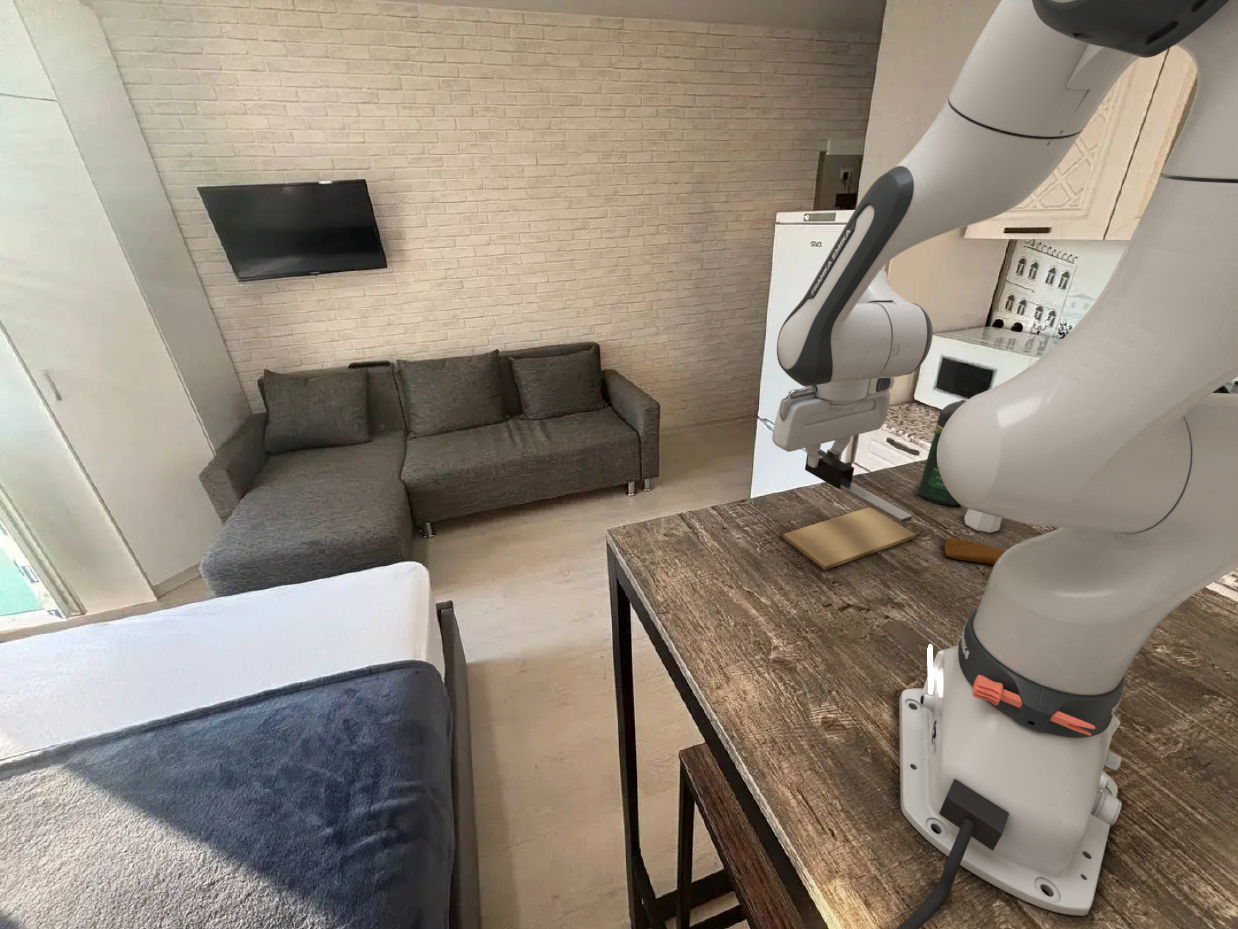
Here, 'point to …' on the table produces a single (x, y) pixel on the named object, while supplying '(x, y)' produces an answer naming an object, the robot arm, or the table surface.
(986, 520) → the pepper shaker
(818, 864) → the table surface
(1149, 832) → the table surface
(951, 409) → the coffee jar
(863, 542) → the cutting board
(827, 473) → the knife
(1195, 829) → the table surface
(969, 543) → the primitive tool
